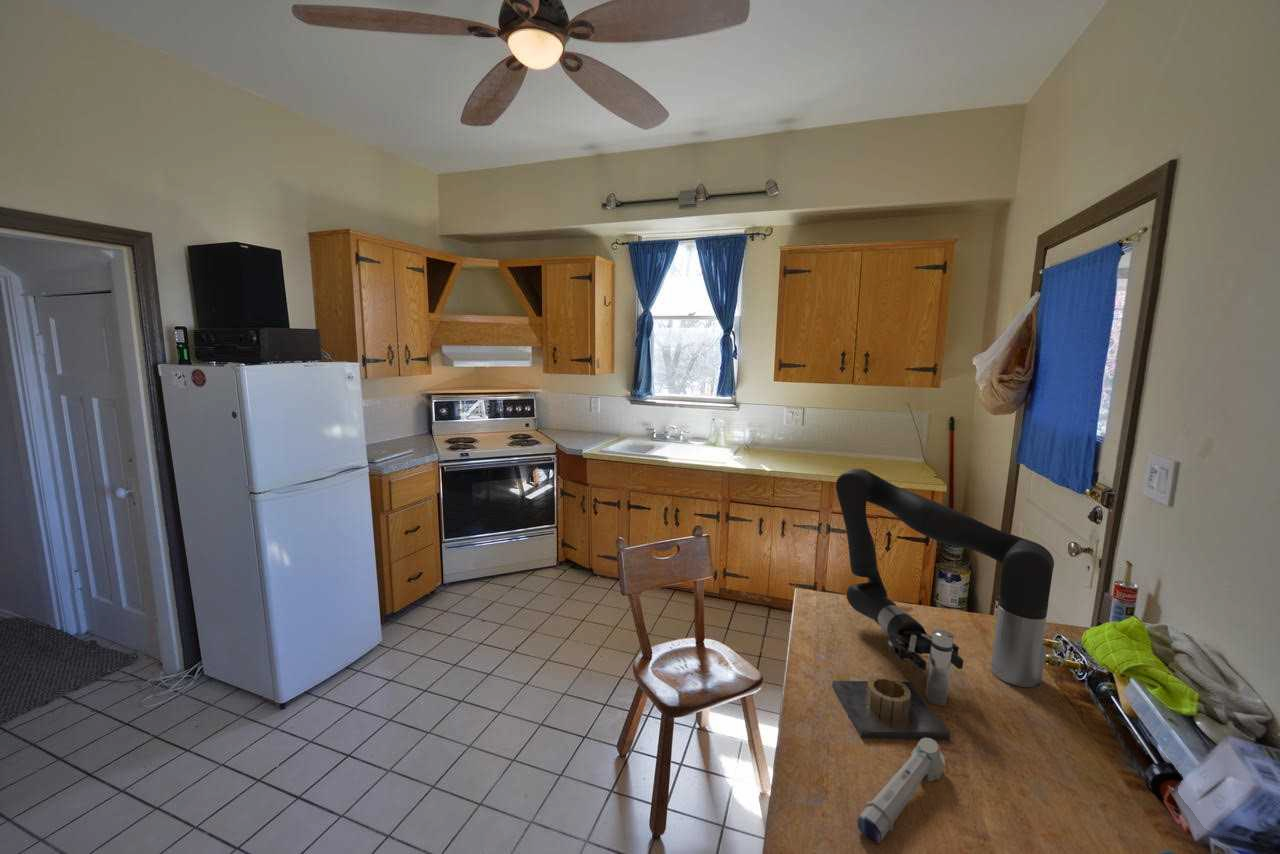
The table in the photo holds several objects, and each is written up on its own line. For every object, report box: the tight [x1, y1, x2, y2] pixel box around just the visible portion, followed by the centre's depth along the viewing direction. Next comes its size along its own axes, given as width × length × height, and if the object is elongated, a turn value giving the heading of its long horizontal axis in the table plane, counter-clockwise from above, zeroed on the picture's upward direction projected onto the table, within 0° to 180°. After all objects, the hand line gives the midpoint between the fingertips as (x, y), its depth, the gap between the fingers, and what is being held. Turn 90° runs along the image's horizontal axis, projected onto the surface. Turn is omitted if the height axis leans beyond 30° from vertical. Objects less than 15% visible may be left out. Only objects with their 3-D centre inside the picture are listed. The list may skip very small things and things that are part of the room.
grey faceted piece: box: [856, 738, 946, 844], centre depth 90 cm, size 5×7×25 cm
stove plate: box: [831, 675, 951, 740], centre depth 111 cm, size 18×16×6 cm
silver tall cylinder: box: [925, 628, 954, 707], centre depth 114 cm, size 4×4×16 cm
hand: (943, 666), depth 113 cm, fingers open, 8 cm apart
